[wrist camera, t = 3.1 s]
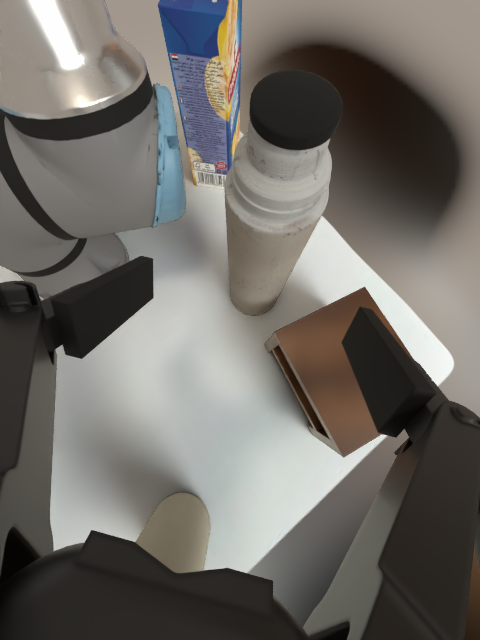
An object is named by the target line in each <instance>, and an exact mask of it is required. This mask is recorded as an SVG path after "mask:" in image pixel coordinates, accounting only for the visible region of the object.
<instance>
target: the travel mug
mask: <svg viewBox="0 0 480 640" xmlns="http://www.w3.org/2000/svg"><path fill="white" fill-rule="evenodd" d="M209 535H210V518H209V514H208V511H207V509H206V507H205V505H204V504H203V503H202V501H201V500H200V499H198V498H197V497H196V496H194V495H192V494H189V493H176V494H173V495H170V496H168V497H167V498H165V499H164V500H163V501H162V502H161V503H160V504H159V505H158V506H157V508H156V510H155V511H154V513H153V514H152V516H151V518H150V519H149V521H148V523H147V524H146V526H145V528H144V529H143V531H142V533H141V534H140V536H139V537H138V539H137V541H136V542H135V543H137V544H138V545H139V546H141V547H142V548H143V549H144V550H146V551H147V552H148V553H150V554H151V555H152V556H154V557H155V558H156V559H157V560H159V561H160V562H161V563H163V564H164V565H165V566H167V567H168V568H169V569H170V570H172V571H173V572H176V573H187V572H196V571H204V566H205V560H206V553H207V547H208V541H209Z"/></svg>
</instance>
